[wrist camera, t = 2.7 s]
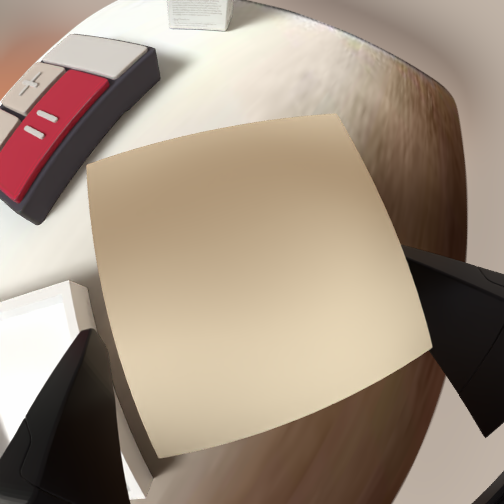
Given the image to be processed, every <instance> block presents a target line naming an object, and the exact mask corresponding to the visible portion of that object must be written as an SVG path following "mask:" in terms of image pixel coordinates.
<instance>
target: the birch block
mask: <svg viewBox="0 0 504 504" xmlns="http://www.w3.org/2000/svg"><path fill="white" fill-rule="evenodd" d="M86 168H87V185H88V198H89V209H90V218H91V226H92V234H93V241H94V248H95V254H96V260H97V266H98V272H99V277H100V282H101V287H102V292H103V296H104V301H105V305H106V310H107V314H108V318H109V322H110V326H111V330H112V333H113V337H114V341H115V344H116V348H117V351H118V354H119V358H120V361H121V364H122V367H123V370H124V374H125V377H126V380H127V382H128V385H129V388H130V391H131V394H132V397H133V399H134V402H135V405H136V407H137V410H138V412H139V415H140V417H141V420H142V422H143V425H144V427H145V430H146V432H147V434H148V437H149V439H150V441H151V443H152V446H153V448H154V450H155V452H156V454H157V456H158V458H159V459H160V458H165V457H171V456H176V455H181V454H186V453H190V452H195V451H199V450H203V449H207V448H211V447H215V446H219V445H222V444H226V443H230V442H233V441H236V440H240V439H243V438H246V437H249V436H253V435H256V434H259V433H262V432H265V431H267V430H270V429H273V428H276V427H279V426H281V425H284V424H287V423H289V422H292V421H294V420H297V419H299V418H302V417H304V416H307V415H309V414H311V413H314V412H316V411H318V410H321V409H323V408H325V407H327V406H330V405H332V404H334V403H336V402H338V401H340V400H342V399H344V398H346V397H348V396H350V395H352V394H354V393H356V392H358V391H360V390H362V389H364V388H366V387H368V386H370V385H372V384H373V383H375V382H377V381H379V380H381V379H383V378H384V377H386V376H388V375H390V374H391V373H393V372H395V371H396V370H398V369H400V368H401V367H403V366H405V365H406V364H408V363H409V362H411V361H413V360H414V359H416V358H417V357H419V356H420V355H422V354H423V353H425V352H427V351H428V350H429V349H431V348H432V342H431V338H430V335H429V331H428V327H427V323H426V320H425V316H424V313H423V309H422V306H421V303H420V299H419V296H418V293H417V290H416V287H415V284H414V281H413V278H412V275H411V272H410V269H409V266H408V263H407V261H406V258H405V255H404V252H403V250H402V247H401V245H400V242H399V239H398V237H397V234H396V232H395V229H394V227H393V225H392V222H391V220H390V217H389V215H388V213H387V211H386V208H385V206H384V204H383V202H382V199H381V197H380V195H379V193H378V191H377V188H376V186H375V184H374V182H373V180H372V178H371V176H370V174H369V172H368V170H367V168H366V166H365V164H364V162H363V160H362V158H361V156H360V154H359V152H358V151H357V149H356V147H355V145H354V143H353V141H352V139H351V138H350V136H349V134H348V132H347V131H346V129H345V127H344V125H343V124H342V122H341V120H340V118H339V117H338V115H337V114H323V115H311V116H301V117H292V118H283V119H275V120H268V121H261V122H254V123H248V124H242V125H236V126H231V127H225V128H220V129H215V130H210V131H205V132H200V133H196V134H191V135H187V136H182V137H178V138H174V139H170V140H166V141H162V142H158V143H155V144H151V145H147V146H144V147H140V148H137V149H133V150H130V151H127V152H123V153H120V154H117V155H114V156H111V157H108V158H105V159H102V160H99V161H96V162H93V163H90V164H87V165H86Z"/></svg>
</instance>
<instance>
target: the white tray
mask: <svg viewBox="0 0 504 504" xmlns="http://www.w3.org/2000/svg"><path fill="white" fill-rule="evenodd" d="M88 328H94V329H95V330H96V332H97V329H96V325H95V321H94V317H93V313H92V308H91V304H90V299H89V294H88V289H87V287H85V286H82V285H80V284H77V283H75V282H72V281H70V280H67V281H64V282H61V283H58V284H55V285H51V286H48V287H45V288H42V289H39V290H36V291H33V292H30V293H26V294H23V295H20V296H17V297H14V298H11V299H8V300H5V301H2V302H0V458H1V456H2V455H3V453H4V451H5V450H6V448H7V447H8V445H9V443H10V442H11V440H12V438H13V436H14V435H15V433H16V431H17V430H18V428H19V426H20V424H21V422H22V421H23V419H24V418H25V415H26V414H27V412H28V410H29V409H30V407H31V405H32V404H33V402H34V400H35V399H36V397H37V395H38V394H39V392H40V390H41V389H42V387H43V386H44V384H45V383H46V381H47V379H48V378H49V376H50V375H51V373H52V372H53V370H54V369H55V367H56V366H57V364H58V363H59V361H60V360H61V358H62V357H63V355H64V354H65V352H66V351H67V349H68V348H69V346H70V345H71V344H72V342H73V341H74V339H75V338H76V336H77V335H78V334H79V332H80V331H81V330H84V329H88ZM113 388H114V386H113ZM114 394H115V402H116V414H117V424H118V433H119V441H120V449H121V456H122V462H123V469H124V474H125V480H126V485H127V490H128V495H129V499H143V498H146V496H147V494H148V491H149V489H150V486H151V483H152V481H153V477H152V475H151V473H150V471H149V469H148V467H147V465H146V463H145V461H144V459H143V457H142V455H141V453H140V451H139V449H138V447H137V444H136V442H135V440H134V438H133V435H132V433H131V431H130V428H129V426H128V424H127V421H126V419H125V416H124V414H123V411H122V408H121V406H120V403H119V400H118V398H117V395H116V392H115V389H114Z"/></svg>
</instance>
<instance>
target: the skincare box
mask: <svg viewBox="0 0 504 504" xmlns="http://www.w3.org/2000/svg"><path fill="white" fill-rule="evenodd" d="M233 1H234V0H167V6H168V18H169V28H171V29H204V30H219V31H226V30H227V27H228V25H229V23H230V20H231V18H232V13H233Z"/></svg>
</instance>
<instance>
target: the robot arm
mask: <svg viewBox="0 0 504 504" xmlns="http://www.w3.org/2000/svg"><path fill="white" fill-rule="evenodd" d="M400 245H401V244H400ZM401 247H402V250H403V252H404V255H405V258H406V261H407V263H408V266H409V269H410V272H411V275H412V278H413V281H414V284H415V287H416V290H417V293H418V296H419V299H420V303H421V306H422V309H423V313H424V316H425V320H426V323H427V327H428V331H429V335H430V338H431V342H432V348H431V349H429V351H430V353H431V354H432V356H433V357H434V358H435V360H436V361H437V363H438V364H439V366H440V367H441V369H442V370H443V372H444V373H445V374H446V376H447V377H448V379H449V380H450V382H451V383H452V385H453V387H454V388H455V390H456V391H457V393H458V394H459V396H460V398H461V399H462V401H463V402H464V404H465V406H466V407H467V409H468V410H469V412H470V414H471V415H472V417H473V419H474V420H475V422H476V424H477V425H478V427H479V429H480V431H481V432H482V434H483V436H484V437H485V438H486V437H488V436H489V435H490V434H491V433H492V432H493V431H494V430H496V429H497V428H498V427H499V426H500V425H501V424H503V423H504V274H501V273H498V272H494V271H491V270H488V269H484V268H481V267H476V266H474V265H471V264H468V263H465V262H461V261H458V260H454V259H451V258H448V257H444V256H441V255H437V254H434V253H430V252H427V251H423V250H419V249H416V248H412V247H408V246H405V245H401ZM0 504H130V499H129V495H128V490H127V485H126V480H125V474H124V469H123V462H122V456H121V449H120V441H119V433H118V424H117V414H116V402H115V394H114V388H113V382H112V376H111V369H110V363H109V355H108V350H107V348H106V346H105V344H104V343H103V341H102V340H101V338H100V336H99V335H98V333H97V332H96V330H95V329H94V328H88V329H84V330H81V331H80V332H79V334H78V335H77V336H76V338H75V339H74V341H73V342H72V344H71V345H70V346H69V348H68V349H67V351H66V352H65V354H64V355H63V357H62V358H61V360H60V361H59V363H58V364H57V366H56V367H55V369H54V370H53V372H52V373H51V375H50V376H49V378H48V379H47V381H46V383H45V384H44V386H43V387H42V389H41V390H40V392H39V394H38V395H37V397H36V399H35V400H34V402H33V404H32V405H31V407H30V409H29V410H28V412H27V414H26V415H25V418H24V419H23V421H22V422H21V424H20V426H19V428H18V430H17V431H16V433H15V435H14V436H13V438H12V440H11V442H10V443H9V445H8V447H7V448H6V450H5V451H4V453H3V455H2V456H1V458H0ZM472 504H504V471H503V472H502V474H501V475H500V476H499V477H498V478H497V479H496V480H495V481H494V482H493V483H492V484H491V486H489V487H488V488H487V489H486V490H485V491H484V492H483V493H482V494H481V495H480V496H479V497H478V498H477V499H476V500H475V501H474V502H473V503H472Z"/></svg>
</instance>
